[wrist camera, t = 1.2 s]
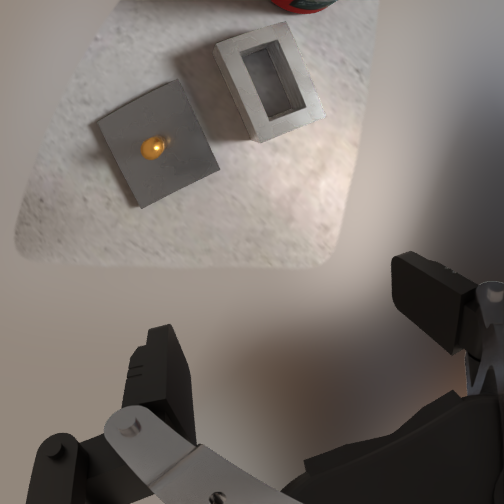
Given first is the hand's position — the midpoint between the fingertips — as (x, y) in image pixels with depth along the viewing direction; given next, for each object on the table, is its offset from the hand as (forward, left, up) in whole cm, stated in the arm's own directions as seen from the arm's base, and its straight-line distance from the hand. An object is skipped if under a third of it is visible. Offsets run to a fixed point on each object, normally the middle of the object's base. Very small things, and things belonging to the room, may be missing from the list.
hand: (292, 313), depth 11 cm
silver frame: (-7, +6, -18) cm, 20 cm away
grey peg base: (-6, -3, -18) cm, 19 cm away
